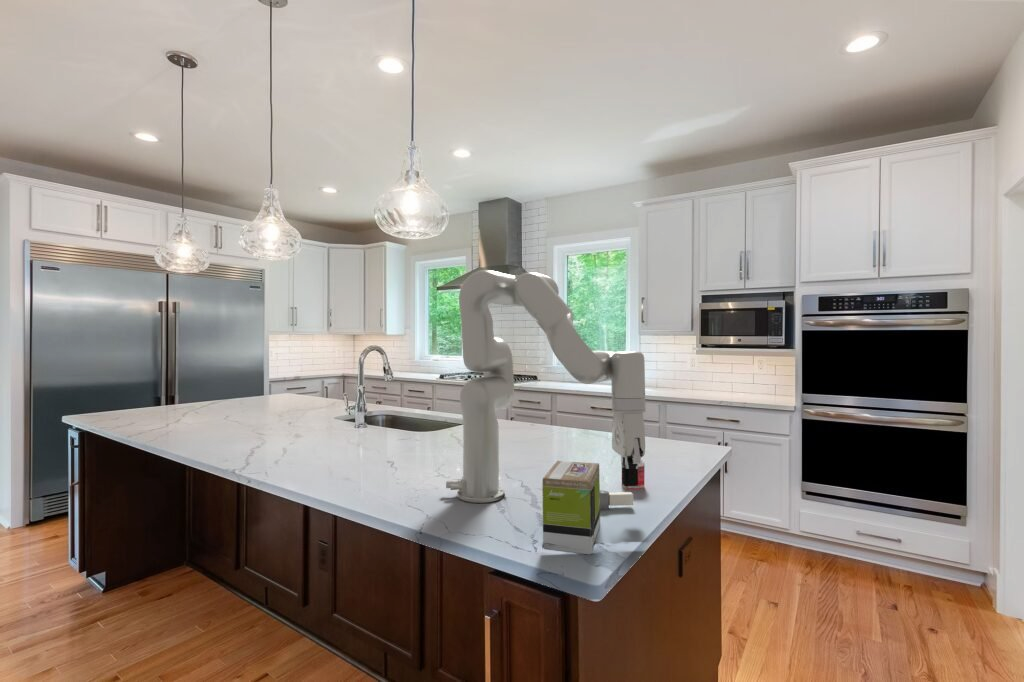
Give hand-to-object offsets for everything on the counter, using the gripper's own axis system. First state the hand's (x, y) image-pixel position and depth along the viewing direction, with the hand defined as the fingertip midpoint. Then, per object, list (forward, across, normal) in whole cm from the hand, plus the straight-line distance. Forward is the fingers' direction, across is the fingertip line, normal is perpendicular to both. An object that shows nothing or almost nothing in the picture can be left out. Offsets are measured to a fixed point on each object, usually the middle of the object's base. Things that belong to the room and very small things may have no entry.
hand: (630, 485), depth 115 cm
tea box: (+9, +8, -15) cm, 19 cm away
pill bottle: (+9, -23, +9) cm, 26 cm away
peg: (+7, -7, -2) cm, 10 cm away
